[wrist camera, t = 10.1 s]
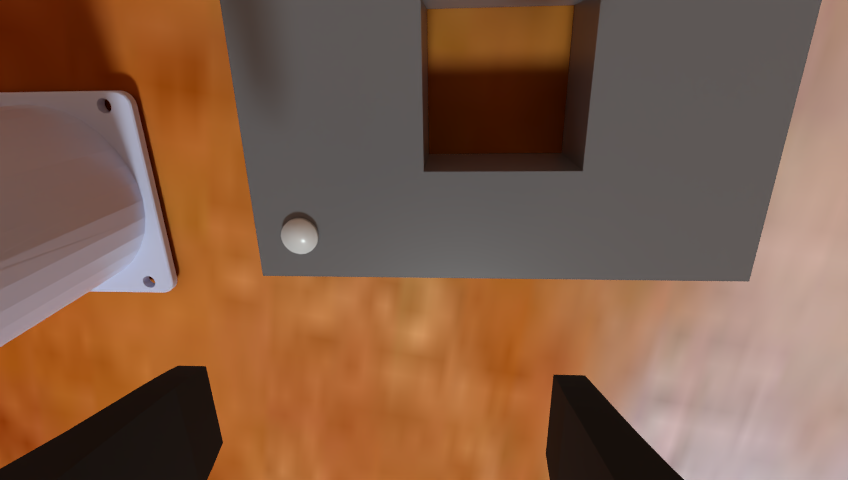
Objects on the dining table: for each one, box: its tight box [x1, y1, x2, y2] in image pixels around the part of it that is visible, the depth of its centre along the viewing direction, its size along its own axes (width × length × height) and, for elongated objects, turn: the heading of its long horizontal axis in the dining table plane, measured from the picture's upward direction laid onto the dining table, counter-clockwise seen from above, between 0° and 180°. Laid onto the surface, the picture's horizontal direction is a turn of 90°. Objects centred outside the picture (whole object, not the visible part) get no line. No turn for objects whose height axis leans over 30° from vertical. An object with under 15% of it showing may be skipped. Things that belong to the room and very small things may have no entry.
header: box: [220, 0, 822, 281], centre depth 15 cm, size 16×12×3 cm
